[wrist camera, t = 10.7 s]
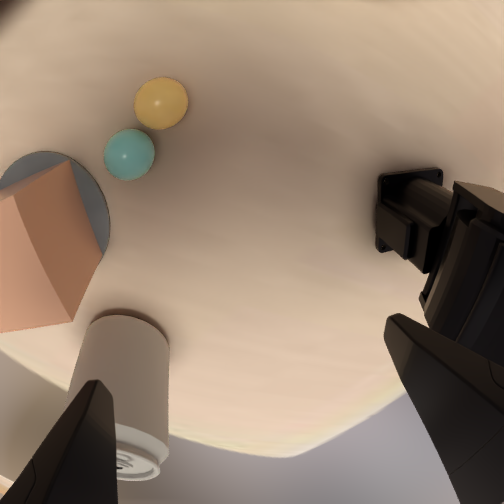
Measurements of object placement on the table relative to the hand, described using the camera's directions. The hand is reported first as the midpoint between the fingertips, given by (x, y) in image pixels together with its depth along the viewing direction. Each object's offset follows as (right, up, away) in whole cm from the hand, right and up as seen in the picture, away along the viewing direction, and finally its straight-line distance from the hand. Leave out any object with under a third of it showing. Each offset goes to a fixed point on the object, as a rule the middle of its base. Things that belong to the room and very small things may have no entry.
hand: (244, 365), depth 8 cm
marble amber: (-5, +12, +7) cm, 15 cm away
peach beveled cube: (-14, +5, +9) cm, 17 cm away
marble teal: (-7, +9, +8) cm, 14 cm away
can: (-10, -4, +16) cm, 19 cm away
